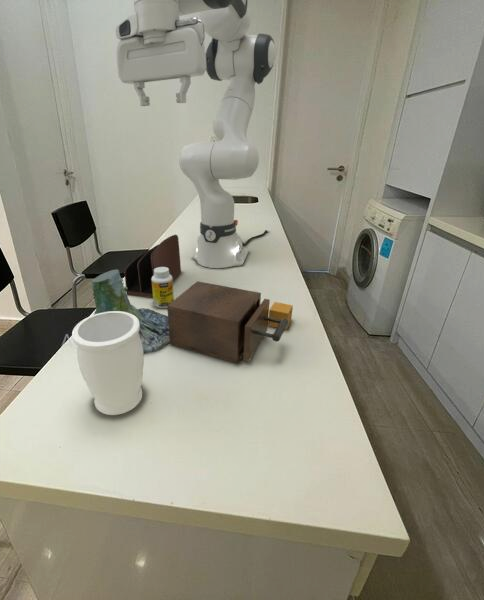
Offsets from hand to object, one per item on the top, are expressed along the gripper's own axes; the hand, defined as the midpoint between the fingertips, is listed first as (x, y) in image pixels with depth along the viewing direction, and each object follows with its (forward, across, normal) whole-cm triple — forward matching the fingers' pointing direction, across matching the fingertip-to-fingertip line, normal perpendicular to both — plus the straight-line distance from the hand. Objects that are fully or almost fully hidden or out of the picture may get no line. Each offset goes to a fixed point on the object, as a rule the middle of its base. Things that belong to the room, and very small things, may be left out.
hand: (162, 104), depth 73 cm
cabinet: (+47, -19, +14) cm, 53 cm away
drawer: (+46, -24, +14) cm, 54 cm away
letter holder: (+48, +10, -6) cm, 49 cm away
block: (+47, -30, +2) cm, 56 cm away
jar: (+48, -12, +39) cm, 63 cm away
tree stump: (+48, 0, +21) cm, 52 cm away
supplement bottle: (+48, 0, +5) cm, 48 cm away
